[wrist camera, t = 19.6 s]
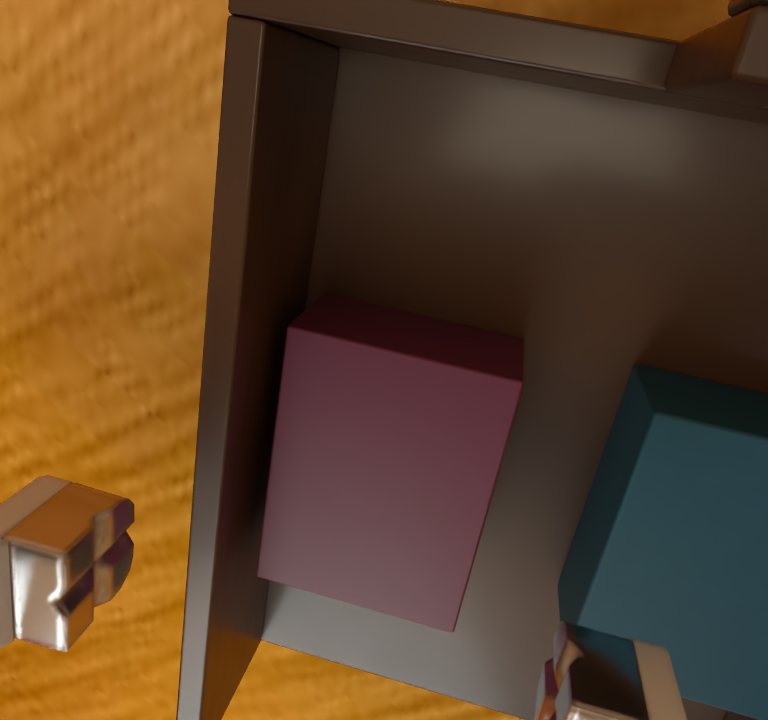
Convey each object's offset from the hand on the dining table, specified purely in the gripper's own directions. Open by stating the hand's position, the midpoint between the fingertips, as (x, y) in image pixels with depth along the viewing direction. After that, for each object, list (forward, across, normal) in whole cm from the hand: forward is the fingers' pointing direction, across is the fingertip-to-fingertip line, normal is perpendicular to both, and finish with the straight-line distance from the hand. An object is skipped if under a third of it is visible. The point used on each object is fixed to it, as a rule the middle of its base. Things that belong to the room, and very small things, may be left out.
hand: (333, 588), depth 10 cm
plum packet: (+6, 0, 0) cm, 6 cm away
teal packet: (+6, -7, 0) cm, 9 cm away
